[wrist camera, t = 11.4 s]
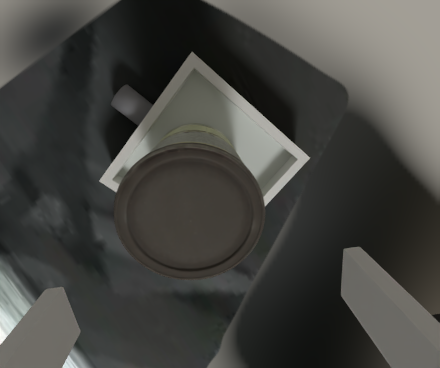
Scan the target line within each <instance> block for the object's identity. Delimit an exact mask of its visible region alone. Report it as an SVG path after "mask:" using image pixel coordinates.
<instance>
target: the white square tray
mask: <svg viewBox="0 0 440 368" xmlns="http://www.w3.org/2000/svg"><path fill="white" fill-rule="evenodd" d="M111 106H113V107H114V108H115V109H117V110H118V111H119V112H121V113H122V114H123V115H125V116H126V117H127V118H129V119H130V120H131V121H133V122H134V123H135V124H136V125H138V128H137V129H136V130H135V132H134V133H133V135H132V136H131V137H130V139H129V140H128V141H127V143H126V144H125V146H124V147H123V148H122V150H121V151H120V153H119V154H118V155H117V157H116V158H115V160H114V161H113V162H112V164H111V165H110V167H109V168H108V169H107V171H106V172H105V174H104V175H103V176H102V178H101V179H100V182H101V183H103V184H104V185H106V186H107V187H109V188H110V189H112V190H113V191H115V192H117V190H118V187H119V185H120V183H121V181H122V179H123V178H124V176H125V175H126V173H127V172H128V171H129V169H130V168H131V167H132V166H133V165H134V164H135V163H136V162H137V161H139V160H140V159H141V158H142V157H144V156H145V155H147V154H148V153H149V152H150V151H151V150H152V149H153V148H154V147H155V146H156V145H157V144H158V143H159V142H160V140H161V139H162V138H163V137H164V136H165V135H166V134H167V133H168V132H169V131H171V130H173V129H174V128H176V127H179V126H181V125H184V124H191V123H199V124H205V125H208V126H211V127H213V128H215V129H217V130H219V131H220V132H222V133H223V134H224V135H225V136H226V137H227V138H228V139H229V140H230V142H231V143H232V145H233V147H234V149H235V151H236V152H237V154H238V155H239V157H240V159H241V160H242V162H243V163H244V165H245V166H246V167H247V168H248V169H249V170H250V172H251V173H252V174H253V175H254V177H255V179H256V180H257V182H258V184H259V186H260V189H261V191H262V194H263V198H264V203H265V206H266V205H267V204H268V203H269V202H270V200H271V199H272V198H273V197H274V196H275V195H276V194H277V193H278V192H279V191H280V190H281V189H282V188H283V187H284V185H285V184H286V183H287V182H288V181H289V180H290V179H291V178H292V177H293V176H294V175H295V174H296V173H297V171H298V170H299V169H300V168H301V167H302V166H303V165H304V164H305V163H306V162H307V161H308V160H309V159H310V158H309V157H308V156H307V155H306V154H305V153H304V152H303V151H302V150H301V149H299V148H298V147H297V146H296V145H295V144H294V143H293V142H292V141H291V140H289V139H288V138H287V137H286V136H285V135H284V134H283V133H282V132H281V131H280V130H278V129H277V128H276V127H275V126H274V125H273V124H272V123H271V122H270V121H268V120H267V119H266V118H265V117H264V116H263V115H262V114H261V113H260V112H258V111H257V110H256V109H255V108H254V107H253V106H252V105H251V104H250V103H248V102H247V101H246V100H245V99H244V98H243V97H242V96H241V95H240V94H238V93H237V92H236V91H235V90H234V89H233V88H232V87H231V86H230V85H228V84H227V83H226V82H225V81H224V80H223V79H222V78H221V77H220V76H219V75H217V74H216V73H215V72H214V71H213V70H212V69H211V68H210V67H209V66H207V65H206V64H205V63H204V62H203V61H202V60H201V59H200V58H199V57H197V56H196V55H195V54H194V53H193V52H191V54H190V55H189V56H188V58H187V59H186V61H185V62H184V63H183V65H182V66H181V68H180V69H179V70H178V72H177V73H176V74H175V76H174V77H173V79H172V80H171V81H170V83H169V84H168V86H167V87H166V88H165V90H164V91H163V93H162V94H161V95H160V97H159V98H158V100H157V101H156V102H155V104H154V105H152V104H151V103H150V102H149V101H147V100H146V99H145V98H144V97H142V96H141V95H140V94H139V93H137V92H136V91H135V90H134V89H132V88H131V87H130V86H129V85H127V84H126V85H124V86H123V87H122V88H121V89H120V90H119V91H118V92H117V93H116V95H115V96H114V98H113V100H112V102H111Z"/></svg>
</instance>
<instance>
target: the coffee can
mask: <svg viewBox="0 0 440 368" xmlns="http://www.w3.org/2000/svg"><path fill="white" fill-rule="evenodd" d="M264 221H265V203H264V198H263V194H262V191H261V189H260V186H259V184H258V182H257V180H256V179H255V177H254V175H253V174H252V173H251V172H250V170H249V169H248V168H247V167H246V166H245V165H244V163H243V162H242V160H241V159H240V157H239V155H238V154H237V152H236V151H235V149H234V147H233V145H232V143H231V142H230V140H229V139H228V138H227V137H226V136H225V135H224V134H223V133H222V132H220V131H219V130H217V129H215V128H213V127H211V126H208V125H205V124H199V123H191V124H184V125H181V126H179V127H176V128H174V129H173V130H171V131H169V132H168V133H167V134H166V135H165V136H164V137H163V138H162V139H161V140H160V142H159V143H158V144H157V145H156V146H155V147H154V148H153V149H152V150H151V151H150V152H149V153H148V154H147V155H145V156H144V157H142V158H141V159H140V160H139V161H137V162H136V163H135V164H134V165H133V166H132V167H131V168H130V169H129V171H128V172H127V173H126V175H125V176H124V178H123V179H122V181H121V183H120V185H119V187H118V190H117V192H116V196H115V201H114V222H115V227H116V230H117V233H118V236H119V238H120V240H121V242H122V244H123V246H124V247H125V249H126V250H127V251H128V252H129V254H130V255H131V256H132V257H133V258H134V259H135V260H137V261H138V262H139V263H140V264H141V265H143V266H144V267H146V268H147V269H149V270H151V271H152V272H154V273H157V274H159V275H162V276H165V277H168V278H174V279H180V280H201V279H207V278H211V277H214V276H217V275H220V274H222V273H225V272H226V271H228V270H230V269H232V268H233V267H235V266H236V265H237V264H239V263H240V262H242V261H243V260H244V259H245V258H246V257H247V256H248V255H249V254H250V252H251V251H252V250H253V248H254V247H255V245H256V244H257V242H258V240H259V238H260V236H261V233H262V231H263V226H264Z"/></svg>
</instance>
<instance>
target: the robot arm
mask: <svg viewBox="0 0 440 368" xmlns="http://www.w3.org/2000/svg"><path fill="white" fill-rule="evenodd" d="M341 296H342V297H343V299H344V300H345V302H346V303H347V305H348V306H349V308H350V309H351V310H352V312H353V313H354V315H355V316H356V318H357V319H358V320H359V322H360V323H361V324H362V326H363V328H364V329H365V330H366V332H367V333H368V335H369V336H370V338H371V339H372V340H373V342H374V343H375V345H376V346H377V347H378V349H379V351H380V352H381V353H382V355H383V356H384V358H385V359H386V361H387V362H388V363H389V365H390V366H391V368H440V314H435V315H431V314H430V313H429V312H427V311H426V310H425V309H424V308H423V307H422V306H421V305H420V304H419V303H418V302H417V301H416V300H415V299H414V298H413V297H412V296H411V295H410V294H409V293H408V292H407V291H405V290H404V289H403V288H402V287H401V286H400V285H399V284H398V283H397V282H396V281H395V280H394V279H393V278H392V277H391V276H390V275H389V274H388V273H387V272H385V270H383V269H382V268H381V267H380V266H379V265H378V264H377V263H376V262H375V261H374V260H373V259H372V258H371V257H370V256H369V255H368V254H367V253H365V251H364V250H362V249H361V248H360V247H354V248H347V249H344V253H343V269H342V285H341ZM79 334H80V329H79V327H78V324H77V321H76V319H75V316H74V314H73V311H72V309H71V306H70V304H69V301H68V299H67V296H66V294H65V291H64V288H63V287H58V288H51V289H46V290H45V291H44V292H43V293H42V295H41V296H40V297H39V298H38V300H37V301H36V302H35V303H34V305H33V306H32V307H31V308H30V309H29V311H28V312H27V313H26V314H25V316H24V317H23V318H22V319H21V321H20V322H19V323H18V324H17V325H16V327H15V328H14V329H13V330H12V332H11V333H10V334H9V335H8V336H7V338H6V339H5V340H4V341H3V343H2V344H1V345H0V368H62V366H63V365H64V363H65V361H66V359H67V357H68V355H69V353H70V351H71V349H72V347H73V345H74V343H75V341H76V339H77V338H78V336H79Z"/></svg>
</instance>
